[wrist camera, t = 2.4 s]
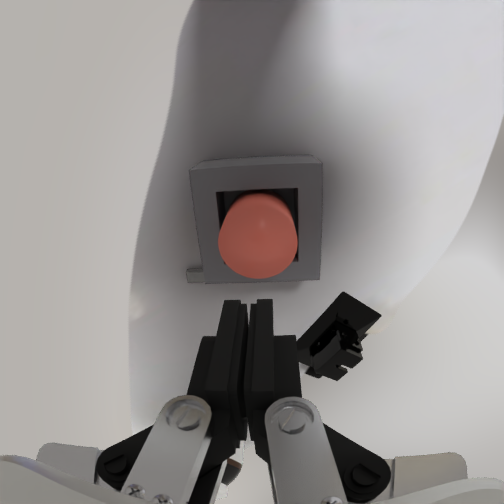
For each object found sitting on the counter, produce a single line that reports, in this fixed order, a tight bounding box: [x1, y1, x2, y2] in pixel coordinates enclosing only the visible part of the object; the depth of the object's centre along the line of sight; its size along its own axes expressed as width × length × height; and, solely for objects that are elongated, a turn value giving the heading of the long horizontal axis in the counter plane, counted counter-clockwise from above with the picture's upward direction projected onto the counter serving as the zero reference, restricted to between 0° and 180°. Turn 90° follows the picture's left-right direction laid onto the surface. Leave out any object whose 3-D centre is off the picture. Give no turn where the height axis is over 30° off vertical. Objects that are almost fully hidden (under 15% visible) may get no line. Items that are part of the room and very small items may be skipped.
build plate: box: [296, 292, 381, 381], centre depth 26 cm, size 12×7×5 cm, turn 149°
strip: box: [186, 269, 205, 283], centre depth 24 cm, size 1×7×1 cm, turn 93°
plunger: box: [218, 189, 298, 279], centre depth 18 cm, size 4×4×4 cm
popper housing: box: [189, 155, 322, 284], centre depth 20 cm, size 8×8×4 cm
